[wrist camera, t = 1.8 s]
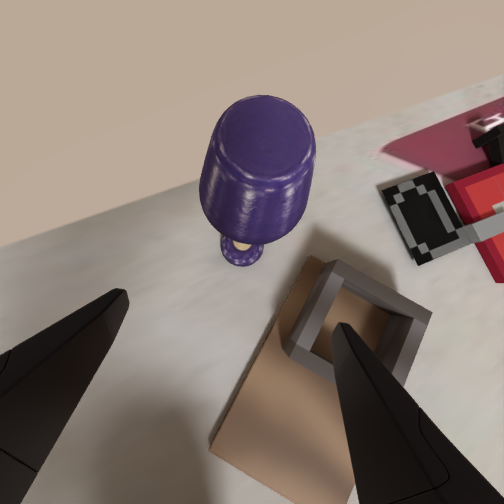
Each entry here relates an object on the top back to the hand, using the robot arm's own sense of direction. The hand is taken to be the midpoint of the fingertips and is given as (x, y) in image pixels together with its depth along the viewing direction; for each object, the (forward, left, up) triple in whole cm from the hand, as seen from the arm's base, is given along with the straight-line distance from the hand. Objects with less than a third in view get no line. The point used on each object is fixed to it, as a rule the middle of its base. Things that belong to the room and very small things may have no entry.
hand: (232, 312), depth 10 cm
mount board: (-2, -10, -12) cm, 16 cm away
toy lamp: (+5, +2, -12) cm, 13 cm away
